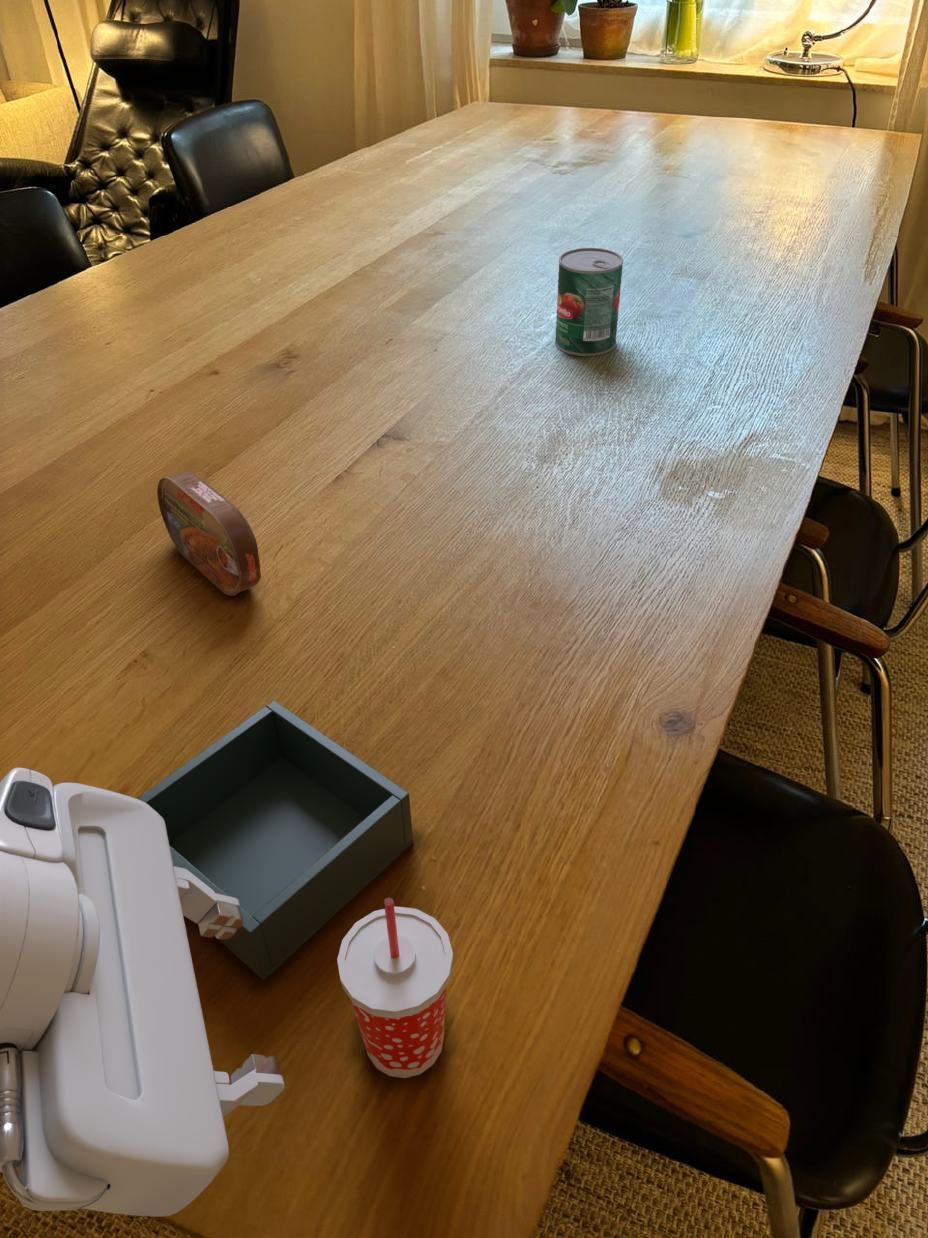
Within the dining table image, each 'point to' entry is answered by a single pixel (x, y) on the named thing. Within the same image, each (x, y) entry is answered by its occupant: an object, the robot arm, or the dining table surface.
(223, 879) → the bin
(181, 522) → the tin
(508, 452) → the dining table surface
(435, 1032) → the beverage cup
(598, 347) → the canned tomato
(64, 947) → the robot arm
